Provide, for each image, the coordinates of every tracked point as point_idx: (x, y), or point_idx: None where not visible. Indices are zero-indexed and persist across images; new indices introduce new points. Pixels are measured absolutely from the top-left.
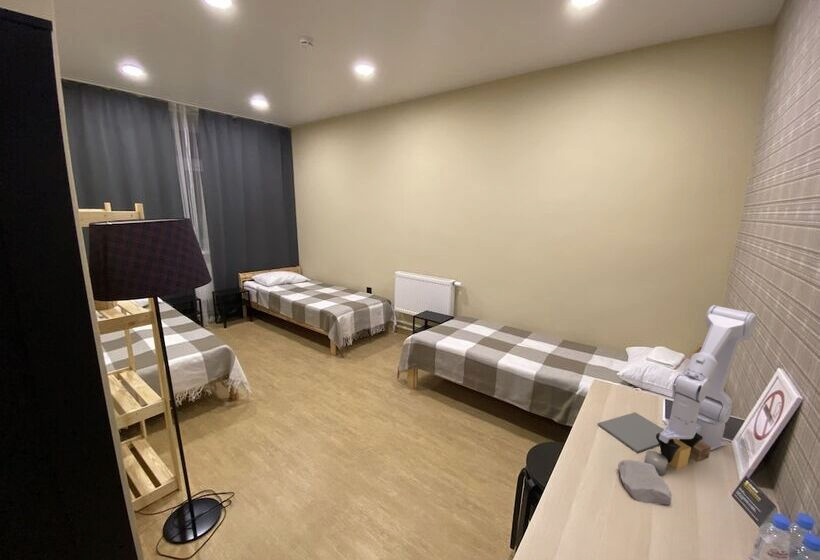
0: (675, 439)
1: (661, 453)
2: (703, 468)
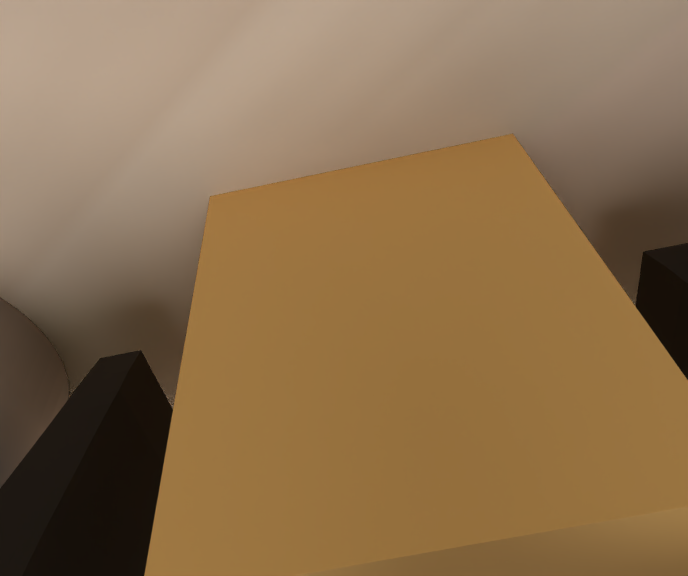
0: (659, 560)
1: (50, 437)
2: None
